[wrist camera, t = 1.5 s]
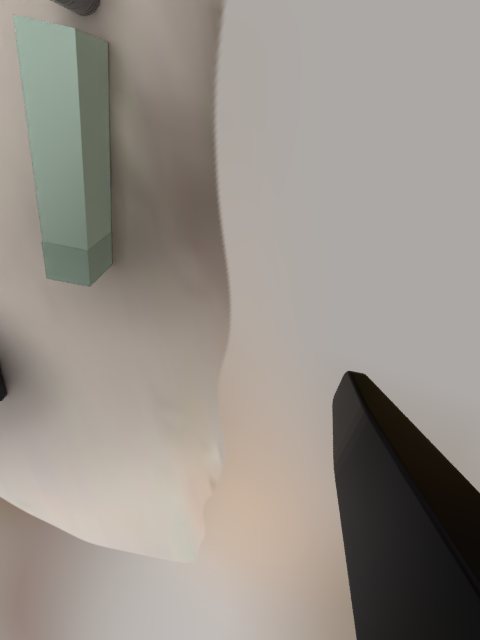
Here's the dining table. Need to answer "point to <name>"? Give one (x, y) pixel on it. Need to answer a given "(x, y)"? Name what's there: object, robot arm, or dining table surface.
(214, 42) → the dining table surface
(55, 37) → the leg bar
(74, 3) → the pin
